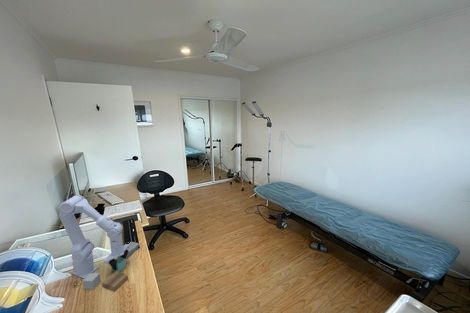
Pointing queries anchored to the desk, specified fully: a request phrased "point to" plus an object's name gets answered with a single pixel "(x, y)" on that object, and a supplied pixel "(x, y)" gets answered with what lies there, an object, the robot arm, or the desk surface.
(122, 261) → the teal cube
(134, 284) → the desk surface
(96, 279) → the grey cube
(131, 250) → the stone block
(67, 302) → the desk surface
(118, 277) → the walnut base block
